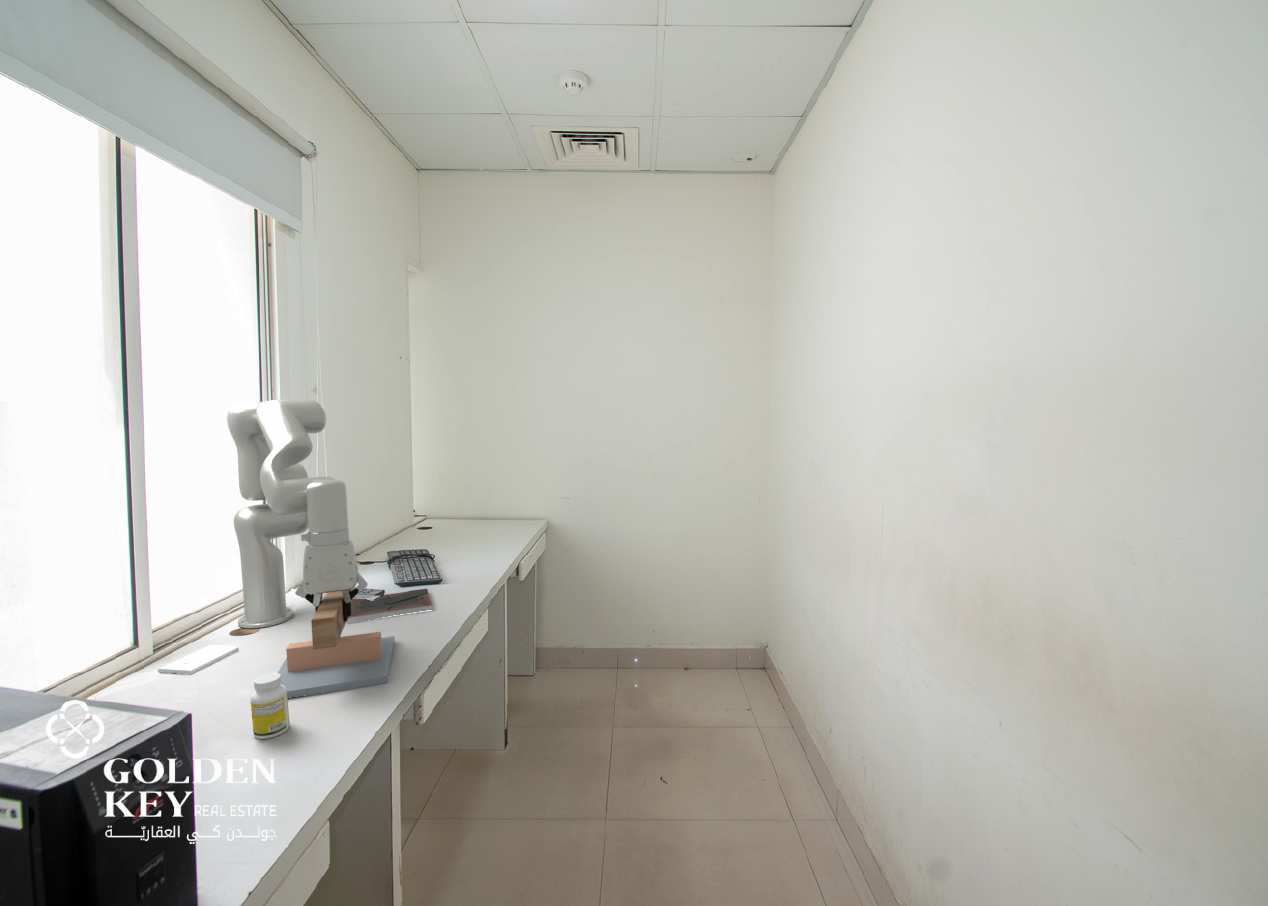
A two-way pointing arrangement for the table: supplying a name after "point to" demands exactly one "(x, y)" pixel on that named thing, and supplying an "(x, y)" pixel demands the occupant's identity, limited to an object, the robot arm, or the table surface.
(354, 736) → the table surface
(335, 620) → the walnut beam
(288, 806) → the table surface
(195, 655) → the external hard drive
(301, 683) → the ridge board
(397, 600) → the picture frame
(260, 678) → the supplement bottle
